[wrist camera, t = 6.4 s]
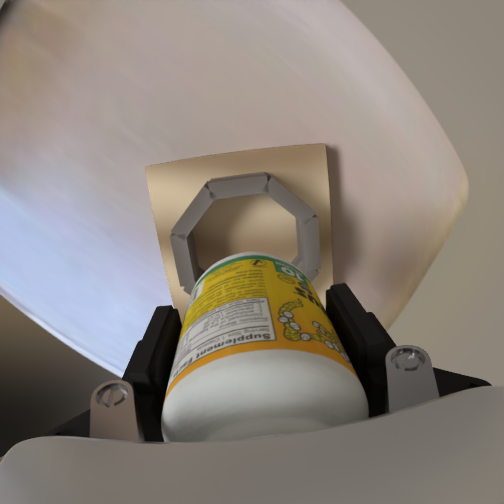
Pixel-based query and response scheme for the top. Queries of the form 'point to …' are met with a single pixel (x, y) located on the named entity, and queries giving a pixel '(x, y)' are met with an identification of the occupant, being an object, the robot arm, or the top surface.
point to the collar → (243, 213)
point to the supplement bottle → (257, 357)
